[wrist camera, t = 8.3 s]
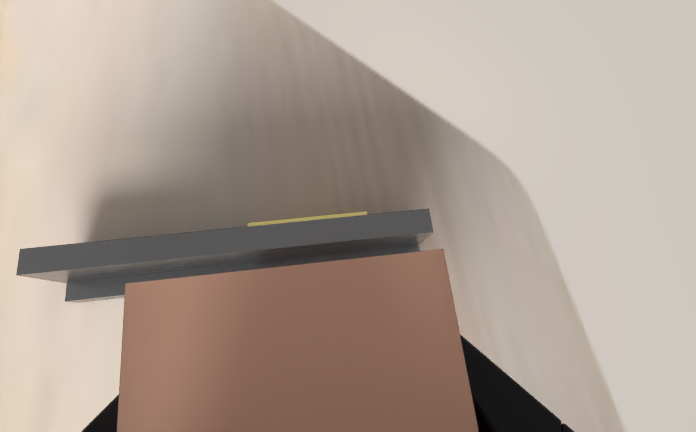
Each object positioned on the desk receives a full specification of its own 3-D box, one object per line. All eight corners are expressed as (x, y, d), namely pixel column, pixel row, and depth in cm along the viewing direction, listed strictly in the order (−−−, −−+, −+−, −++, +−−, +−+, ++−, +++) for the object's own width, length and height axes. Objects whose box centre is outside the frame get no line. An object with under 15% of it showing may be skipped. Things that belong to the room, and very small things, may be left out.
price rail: (417, 265, 18) (436, 251, 15) (77, 302, 17) (13, 297, 13) (410, 224, 18) (427, 201, 15) (81, 257, 17) (21, 241, 14)
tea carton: (397, 435, 15) (520, 644, 5) (258, 454, 14) (100, 722, 5) (377, 291, 16) (441, 240, 7) (252, 306, 16) (125, 274, 6)
